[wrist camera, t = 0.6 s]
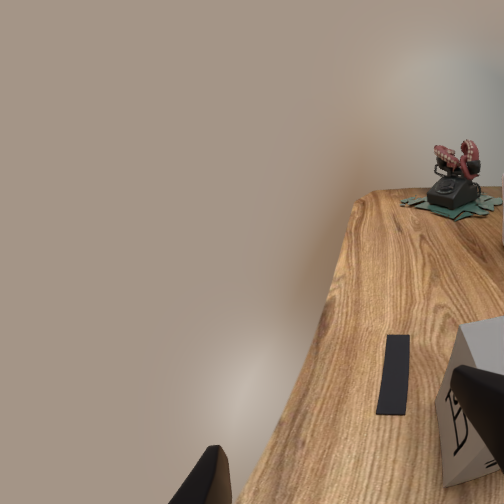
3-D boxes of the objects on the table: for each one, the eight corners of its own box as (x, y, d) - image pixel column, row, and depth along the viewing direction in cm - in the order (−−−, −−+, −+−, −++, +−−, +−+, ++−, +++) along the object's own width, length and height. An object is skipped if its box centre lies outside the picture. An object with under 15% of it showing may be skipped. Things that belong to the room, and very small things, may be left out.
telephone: (447, 187, 86) (443, 136, 79) (512, 202, 57) (510, 141, 50) (391, 204, 79) (383, 142, 72) (470, 227, 50) (468, 144, 43)
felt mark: (404, 415, 19) (405, 414, 19) (375, 414, 21) (375, 413, 21) (409, 335, 29) (409, 334, 29) (387, 335, 31) (387, 334, 30)
